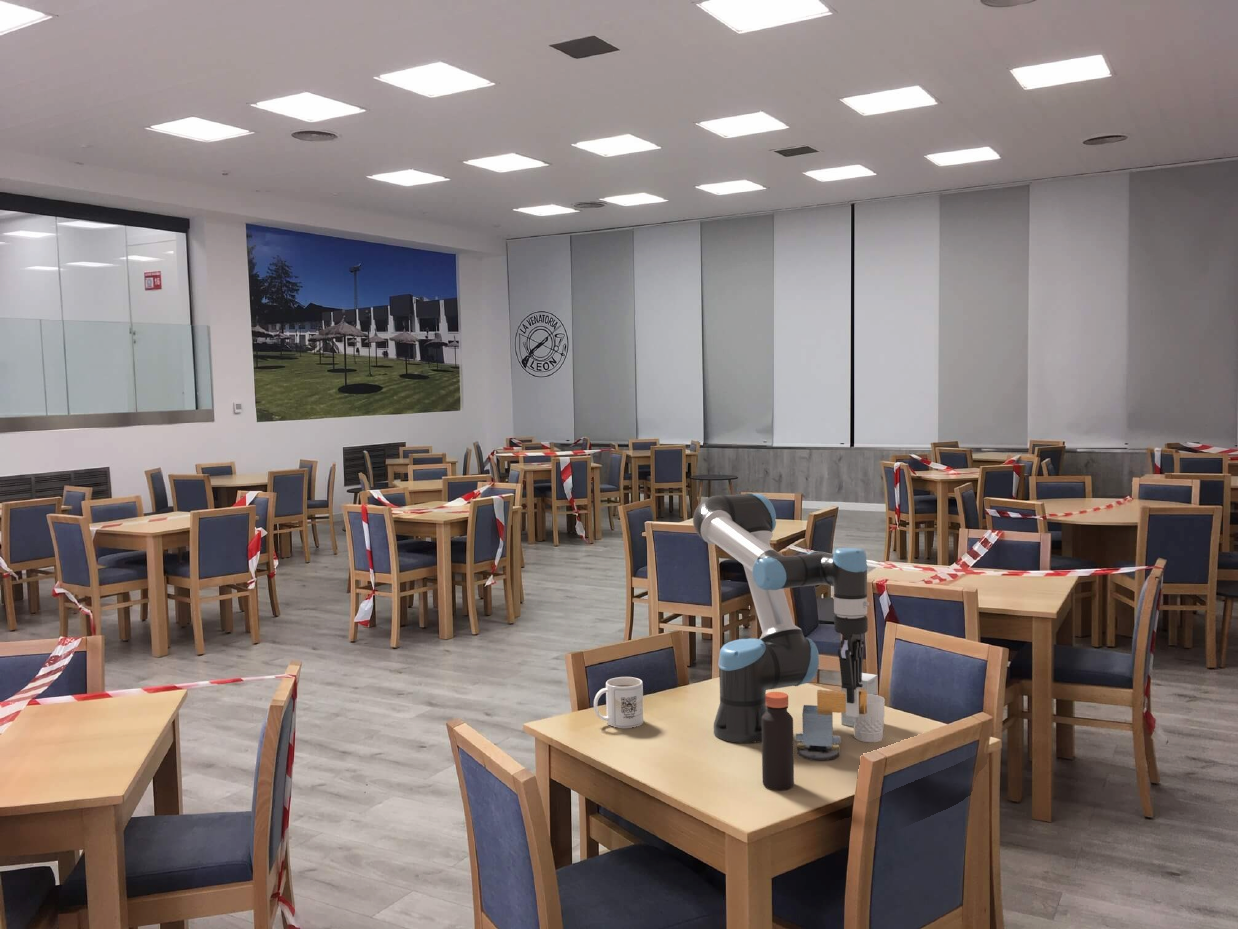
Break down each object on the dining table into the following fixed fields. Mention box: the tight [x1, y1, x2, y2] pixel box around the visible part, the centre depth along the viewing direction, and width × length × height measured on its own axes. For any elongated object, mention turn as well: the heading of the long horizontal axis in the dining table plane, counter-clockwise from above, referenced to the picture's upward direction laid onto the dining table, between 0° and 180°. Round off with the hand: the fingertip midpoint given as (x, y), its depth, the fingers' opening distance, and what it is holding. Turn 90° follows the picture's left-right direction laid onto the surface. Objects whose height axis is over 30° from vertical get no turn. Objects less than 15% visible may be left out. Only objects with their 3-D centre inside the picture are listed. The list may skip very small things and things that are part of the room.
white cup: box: [853, 694, 886, 743], centre depth 231 cm, size 8×8×10 cm
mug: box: [593, 676, 644, 729], centre depth 247 cm, size 10×12×11 cm
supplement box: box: [840, 672, 879, 727], centre depth 242 cm, size 7×7×13 cm
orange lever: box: [795, 689, 867, 747], centre depth 221 cm, size 7×17×13 cm, turn 76°
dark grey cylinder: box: [796, 741, 841, 762], centre depth 222 cm, size 10×10×9 cm
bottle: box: [761, 691, 795, 791], centre depth 203 cm, size 7×7×20 cm
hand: (852, 715), depth 216 cm, fingers closed
